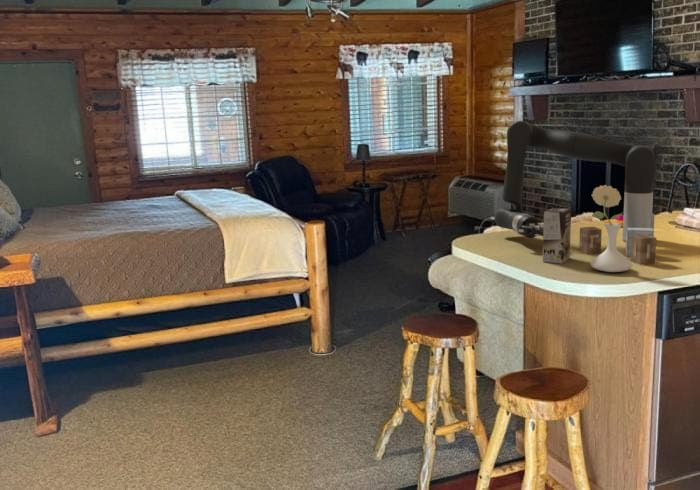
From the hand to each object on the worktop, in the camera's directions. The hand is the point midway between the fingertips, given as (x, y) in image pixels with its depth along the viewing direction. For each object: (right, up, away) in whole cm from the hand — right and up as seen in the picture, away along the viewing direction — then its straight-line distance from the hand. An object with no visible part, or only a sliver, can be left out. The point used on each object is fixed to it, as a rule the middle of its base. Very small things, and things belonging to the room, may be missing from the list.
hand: (547, 233), depth 219 cm
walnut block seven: (+15, -6, +3) cm, 16 cm away
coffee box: (+1, -9, -6) cm, 11 cm away
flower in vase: (+12, -11, -21) cm, 27 cm away
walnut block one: (+25, -9, -13) cm, 30 cm away
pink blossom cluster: (+43, +4, +49) cm, 65 cm away
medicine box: (+28, -7, -4) cm, 29 cm away
